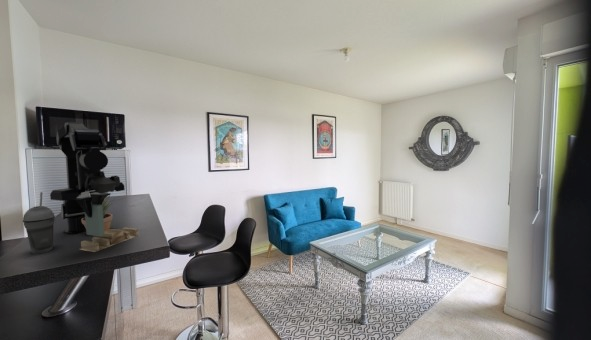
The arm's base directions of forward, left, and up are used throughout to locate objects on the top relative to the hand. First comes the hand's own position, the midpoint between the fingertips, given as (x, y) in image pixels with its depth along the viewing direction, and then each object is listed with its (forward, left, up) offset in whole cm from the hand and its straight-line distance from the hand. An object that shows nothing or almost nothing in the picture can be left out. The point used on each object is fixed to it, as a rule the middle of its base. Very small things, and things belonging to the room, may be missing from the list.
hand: (93, 216), depth 82 cm
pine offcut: (0, +5, -9) cm, 10 cm away
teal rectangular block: (0, 0, -6) cm, 6 cm away
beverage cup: (-14, -7, -12) cm, 19 cm away
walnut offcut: (0, +5, -10) cm, 12 cm away
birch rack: (0, +5, -12) cm, 13 cm away
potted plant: (-15, +11, -12) cm, 22 cm away
